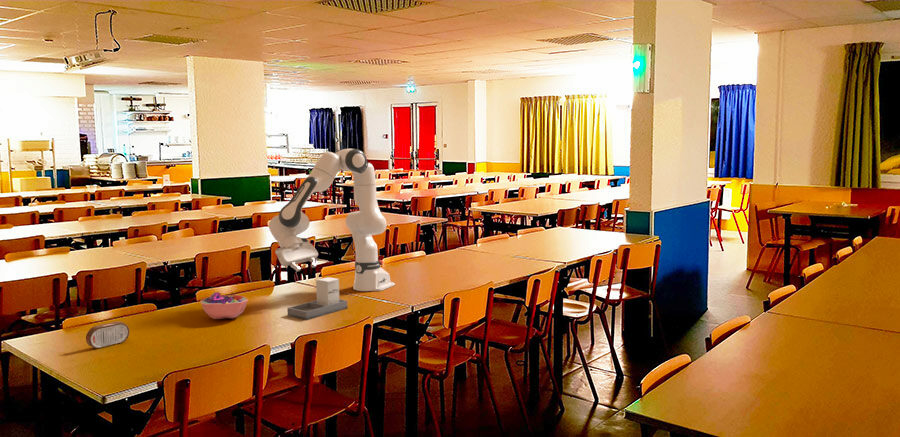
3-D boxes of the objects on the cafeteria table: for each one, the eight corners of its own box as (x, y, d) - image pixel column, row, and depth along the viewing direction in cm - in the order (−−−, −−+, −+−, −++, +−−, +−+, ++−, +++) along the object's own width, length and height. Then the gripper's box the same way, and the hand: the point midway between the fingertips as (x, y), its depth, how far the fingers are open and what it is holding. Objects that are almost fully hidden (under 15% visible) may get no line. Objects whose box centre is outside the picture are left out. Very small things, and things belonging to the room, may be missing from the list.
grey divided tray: (328, 304, 310) (328, 297, 309) (347, 308, 303) (347, 300, 302) (287, 315, 291) (287, 307, 290) (306, 320, 284) (306, 312, 283)
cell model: (236, 325, 278) (235, 298, 276) (192, 322, 281) (191, 296, 280) (256, 314, 294) (255, 288, 293) (214, 312, 298) (213, 287, 297)
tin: (127, 340, 258) (125, 318, 257) (131, 341, 256) (129, 320, 255) (86, 350, 247) (84, 327, 246) (90, 351, 245) (88, 329, 244)
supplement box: (328, 309, 296) (327, 281, 295) (316, 307, 301) (315, 279, 299) (340, 306, 302) (339, 278, 301) (328, 303, 307) (327, 276, 305)
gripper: (276, 245, 304) (292, 268, 299) (310, 238, 320) (326, 260, 315) (270, 254, 307) (286, 277, 302) (304, 246, 323) (320, 268, 319)
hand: (306, 268), depth 309 cm, fingers open, 8 cm apart
